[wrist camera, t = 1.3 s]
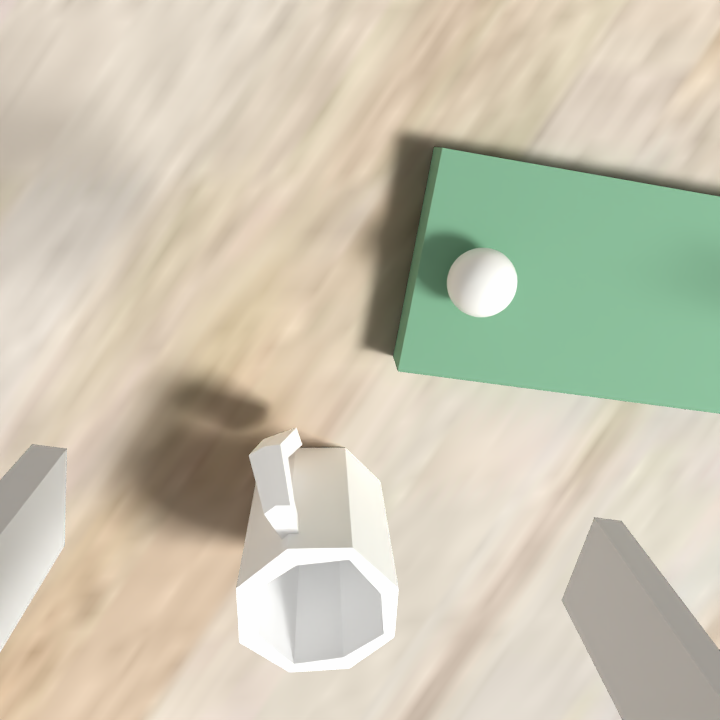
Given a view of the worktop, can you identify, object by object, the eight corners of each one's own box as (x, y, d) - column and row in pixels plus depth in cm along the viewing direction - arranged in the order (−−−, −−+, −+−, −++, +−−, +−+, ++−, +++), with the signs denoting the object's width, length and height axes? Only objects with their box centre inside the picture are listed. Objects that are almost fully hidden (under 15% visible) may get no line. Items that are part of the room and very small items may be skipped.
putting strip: (434, 146, 32) (515, 157, 19) (869, 223, 35) (1212, 280, 21) (393, 356, 36) (436, 489, 23) (785, 409, 39) (1030, 555, 26)
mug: (400, 527, 41) (423, 643, 31) (281, 569, 41) (270, 694, 32) (335, 374, 36) (340, 456, 27) (204, 423, 37) (165, 519, 28)
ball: (448, 237, 31) (463, 249, 28) (513, 247, 32) (535, 260, 28) (435, 301, 33) (447, 320, 29) (497, 310, 33) (516, 330, 30)
